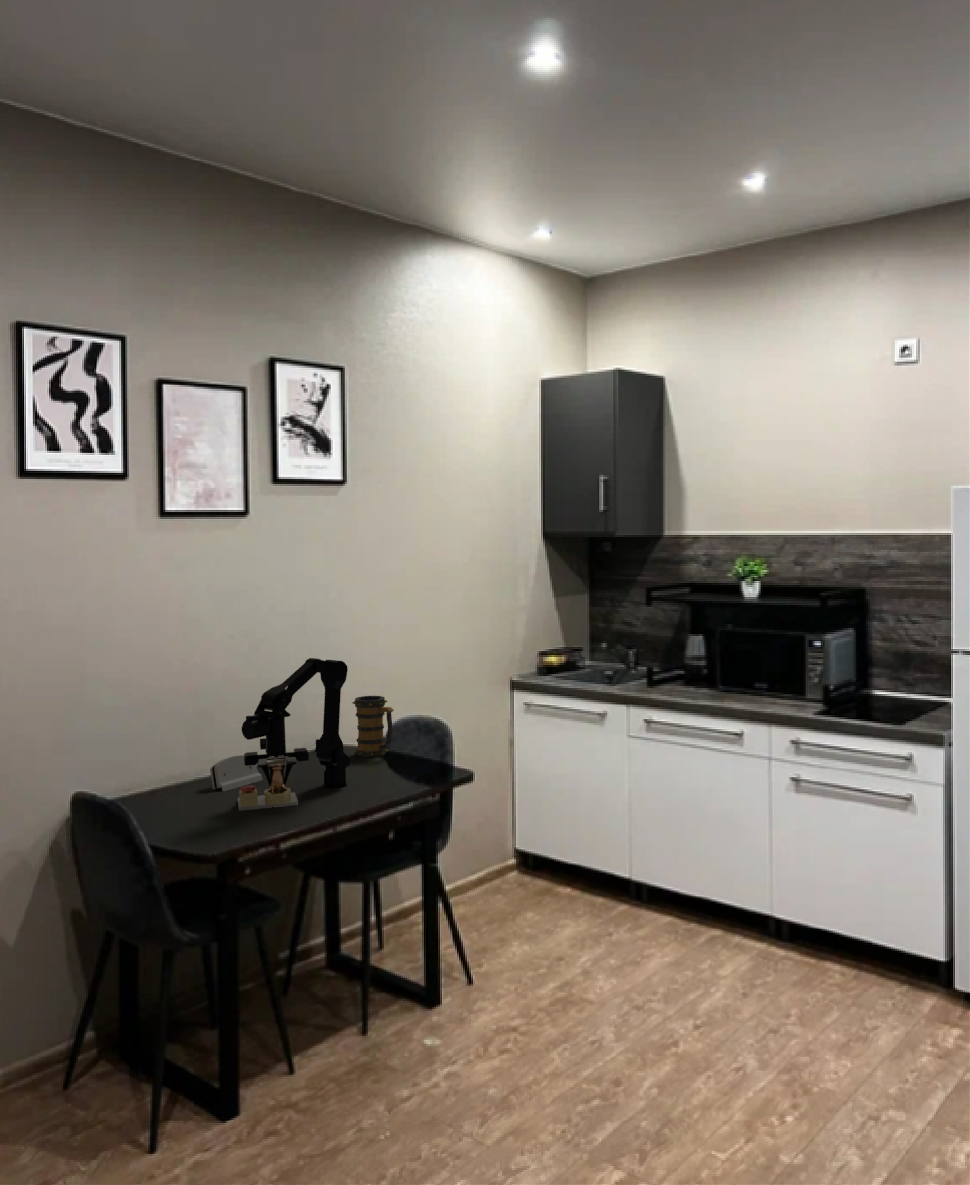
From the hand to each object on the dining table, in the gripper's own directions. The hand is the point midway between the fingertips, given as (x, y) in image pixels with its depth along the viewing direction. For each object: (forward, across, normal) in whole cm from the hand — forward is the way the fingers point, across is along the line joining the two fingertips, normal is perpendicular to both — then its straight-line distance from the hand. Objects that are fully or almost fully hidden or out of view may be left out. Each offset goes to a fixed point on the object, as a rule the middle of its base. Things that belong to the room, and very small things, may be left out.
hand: (277, 784), depth 308 cm
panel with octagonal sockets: (+5, +3, 0) cm, 6 cm away
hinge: (+6, +11, -26) cm, 29 cm away
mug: (+6, -38, -51) cm, 64 cm away
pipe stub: (+2, 0, 0) cm, 2 cm away
